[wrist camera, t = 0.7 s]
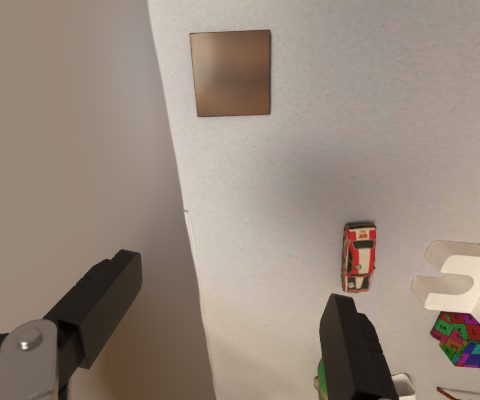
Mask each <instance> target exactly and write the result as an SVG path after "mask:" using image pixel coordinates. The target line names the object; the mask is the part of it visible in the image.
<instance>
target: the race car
mask: <svg viewBox="0 0 480 400" xmlns="http://www.w3.org/2000/svg"><path fill="white" fill-rule="evenodd" d="M343 243H344V245H343V257H342V275H341V278H342V283H343V285H342V288H343V291H344V292H349V293H359V292H365V291H369V290H370V287H371V280H372V275H373V270H374V269H375V267H374V262H375V244H376V226H375V224H358V225H350V226H348V225H347V226H345V228H344V237H343Z"/></svg>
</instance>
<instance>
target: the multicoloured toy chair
mask: <svg viewBox="0 0 480 400" xmlns="http://www.w3.org/2000/svg"><path fill="white" fill-rule="evenodd" d="M430 334H431V335H432V337H434V338H436V339H437V340H439V341H441V343H440V345H439V346H440V347H441V348H442V350H443V351H444V352H445V354H446V355H447V357H448V358H449V359H450V361H451V362H452V363H453V365H454V366H458V367H472V368H480V323H479V322H478V321H477V320H476V319H475V318H474V317H473V316H472V315H471V314H470V313H457V312H443V311H441V313H440V315H439V317H438V319H437V321H436V323H435V325H434V327H433V329H432V331H431V333H430Z"/></svg>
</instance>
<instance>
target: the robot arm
mask: <svg viewBox="0 0 480 400" xmlns="http://www.w3.org/2000/svg"><path fill="white" fill-rule="evenodd" d="M141 285H142V264H141V255H140V253H137V252H133V251H128V250H123V249H122V250H120V251H119V252H118V253H117V254H116V255H115V256H114V257H113V258H112V259H111V260H109V259H105V260H103V261H102V262H100V263H98V264H96V265H94V266H93V267H92V268H91V269H90V270H89V271H88V272H87V273H86V274H85V275H84V277H83V278H81V279H80V280H79V281H78V282H77V283H76V286H74V287H73V288H72V289H71V290H70V291H69V292H68V293H67V294H66V295H65V296H64V297H63V298H62V299H61V300H60V301H59V302H58V303H57V304H56V305H55V306H54V307H53V308H52V309H51V310H50V311H49V312H48V313H47V314H46V315H45V316H44V317H43V318H42V319H39V320H33V321H30V322H27V323H25V324H23V325H21V326H19V327H17V328H16V329H15V330H13V331H12V332H11V333H6V334H0V400H71V376H72V374H73V373H74V372H75V370H76V369H77V367H80V368H84V369H90V367H91V366H92V364H93V362H94V361H95V359H96V358H97V356H98V355H99V353H100V352H101V350H102V349H103V347H104V346H105V344H106V342H107V341H108V340H109V338H110V336H111V335H112V333H113V332H114V330H115V329H116V327H117V326H118V324H119V323H120V321H121V320H122V318H123V316H124V315H125V313H126V312H127V310H128V309H129V307H130V306H131V304H132V302H133V301H134V300H135V298H136V296H137V295H138V293H139V291H140V288H141ZM319 334H320V342H321V350H322V358H323V365H324V373H325V381H326V388H327V396H328V400H399V397H398V394H397V391H396V388H395V385H394V382H393V379H392V377H391V374H390V371H389V368H388V365H387V362H386V359H385V356H384V355H383V351H382V348H381V345H380V343H379V339H378V336H377V333H376V330H375V328H374V326H373V324H372V323H371V322H370V320H369V319H368V318H367V316H366V315H365V314H362V313H357V310H356V307H355V303H354V300H353V298H352V297H348V296H343V295H338V294H333V293H332V294H331V295H330V297H329V300H328V302H327V305H326V307H325V310H324V313H323V315H322V318H321V321H320V328H319Z"/></svg>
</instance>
